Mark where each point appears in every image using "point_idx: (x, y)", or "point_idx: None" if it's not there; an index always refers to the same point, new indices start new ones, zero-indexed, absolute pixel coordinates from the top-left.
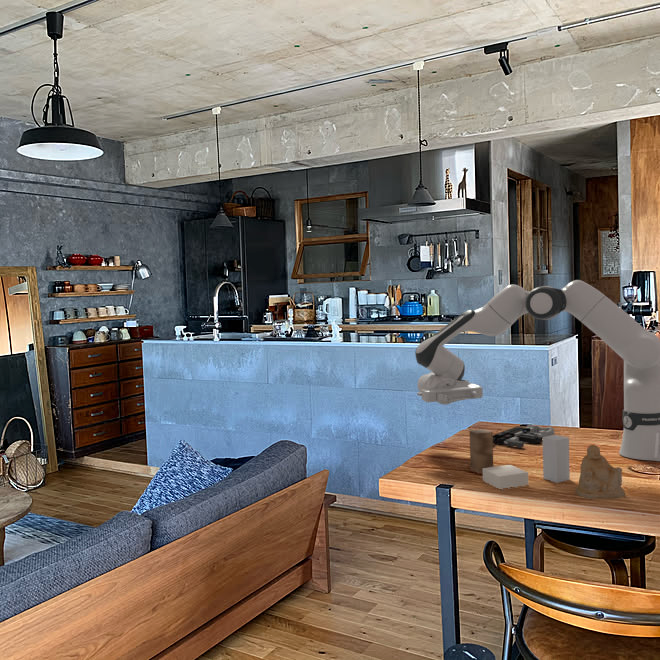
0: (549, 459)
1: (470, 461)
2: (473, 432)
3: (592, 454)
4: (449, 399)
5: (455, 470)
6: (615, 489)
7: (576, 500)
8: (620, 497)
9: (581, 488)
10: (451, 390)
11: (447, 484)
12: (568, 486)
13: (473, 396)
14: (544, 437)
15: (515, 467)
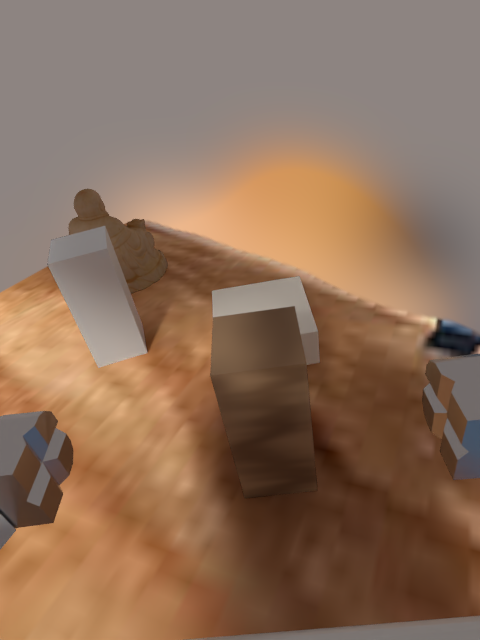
0: (127, 291)
1: (315, 469)
2: (299, 332)
3: (102, 202)
4: (434, 394)
5: (390, 490)
6: None
7: (188, 254)
8: None
9: (154, 259)
10: (344, 630)
11: (444, 352)
12: (140, 305)
13: (58, 434)
14: (104, 246)
15: None
